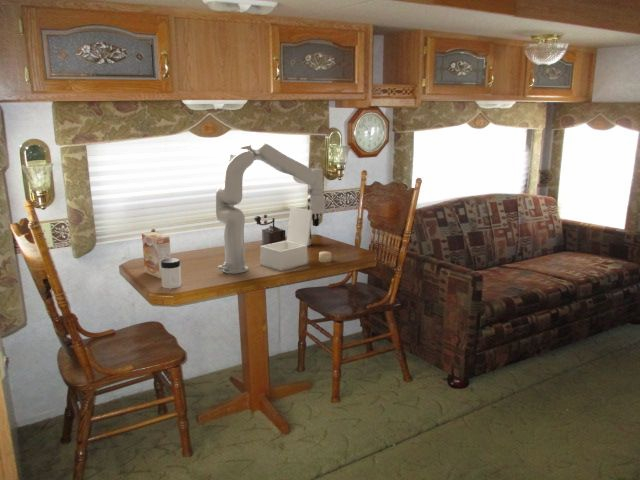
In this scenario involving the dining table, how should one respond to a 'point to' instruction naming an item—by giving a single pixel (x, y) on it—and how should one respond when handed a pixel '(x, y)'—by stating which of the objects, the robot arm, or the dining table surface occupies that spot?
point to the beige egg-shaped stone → (324, 256)
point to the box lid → (299, 225)
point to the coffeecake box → (155, 252)
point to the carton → (283, 255)
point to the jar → (171, 273)
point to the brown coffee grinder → (271, 233)
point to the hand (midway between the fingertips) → (315, 225)
